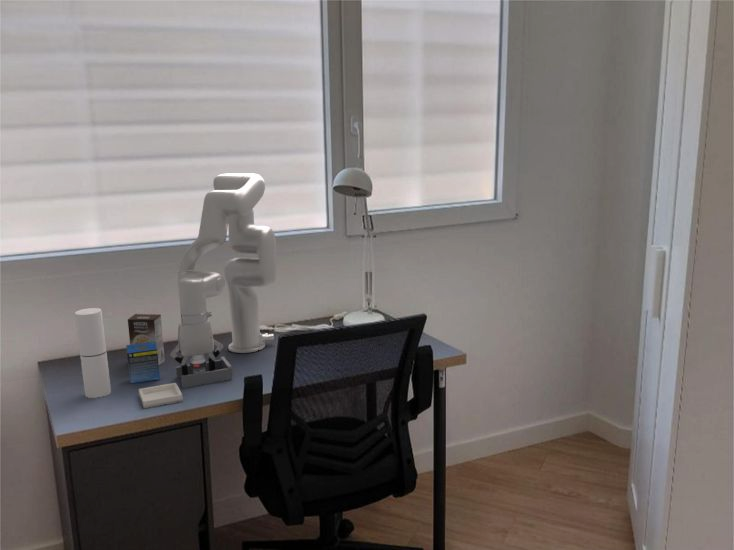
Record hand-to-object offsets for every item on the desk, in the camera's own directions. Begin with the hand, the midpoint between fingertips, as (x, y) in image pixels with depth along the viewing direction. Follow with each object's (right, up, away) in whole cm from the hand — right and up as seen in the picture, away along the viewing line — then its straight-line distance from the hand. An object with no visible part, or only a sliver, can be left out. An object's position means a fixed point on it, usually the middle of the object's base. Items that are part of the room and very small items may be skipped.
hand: (198, 373), depth 217 cm
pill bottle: (0, -2, +1) cm, 2 cm away
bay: (+1, -2, +1) cm, 2 cm away
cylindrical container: (-28, -5, -8) cm, 29 cm away
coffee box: (-20, +1, +16) cm, 26 cm away
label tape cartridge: (-17, -2, +2) cm, 17 cm away
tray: (-8, -5, -14) cm, 17 cm away
